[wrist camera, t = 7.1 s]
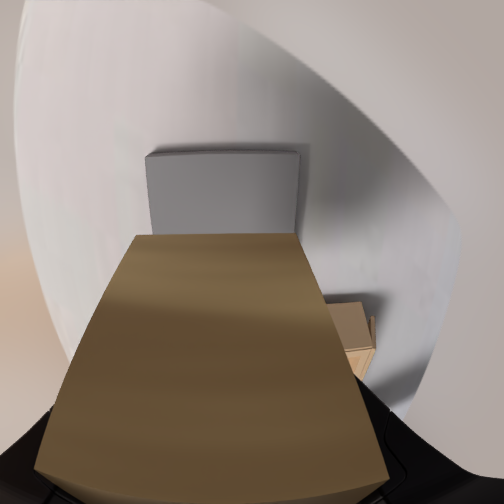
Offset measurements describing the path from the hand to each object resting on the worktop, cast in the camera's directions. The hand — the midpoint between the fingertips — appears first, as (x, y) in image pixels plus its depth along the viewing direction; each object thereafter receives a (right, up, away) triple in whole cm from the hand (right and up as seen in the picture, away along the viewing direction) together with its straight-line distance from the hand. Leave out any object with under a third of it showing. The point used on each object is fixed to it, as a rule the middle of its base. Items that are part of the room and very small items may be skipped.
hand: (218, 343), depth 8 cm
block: (0, 0, +1) cm, 1 cm away
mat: (-1, +4, +10) cm, 11 cm away
